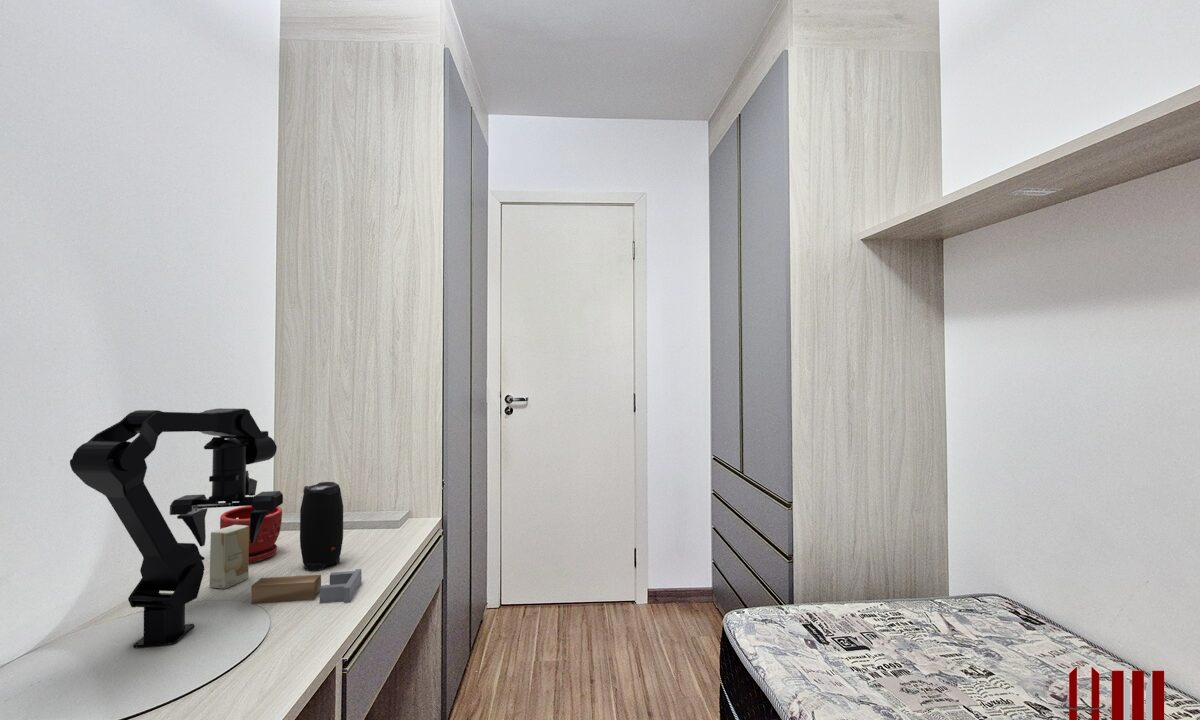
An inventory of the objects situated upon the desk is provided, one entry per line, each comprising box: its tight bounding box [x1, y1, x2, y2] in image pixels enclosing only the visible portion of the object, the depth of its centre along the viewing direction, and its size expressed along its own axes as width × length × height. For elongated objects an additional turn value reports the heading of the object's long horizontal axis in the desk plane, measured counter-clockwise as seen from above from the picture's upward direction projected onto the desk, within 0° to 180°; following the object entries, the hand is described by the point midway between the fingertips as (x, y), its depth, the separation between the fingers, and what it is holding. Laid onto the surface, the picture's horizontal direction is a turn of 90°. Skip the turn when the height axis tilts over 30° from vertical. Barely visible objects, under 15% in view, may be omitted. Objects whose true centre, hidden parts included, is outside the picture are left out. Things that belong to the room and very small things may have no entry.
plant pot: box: [219, 506, 283, 564], centre depth 133 cm, size 13×13×12 cm
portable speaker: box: [299, 481, 344, 572], centre depth 128 cm, size 9×9×20 cm
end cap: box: [319, 568, 363, 604], centre depth 112 cm, size 10×6×3 cm, turn 12°
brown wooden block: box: [250, 574, 322, 605], centre depth 110 cm, size 4×12×4 cm, turn 98°
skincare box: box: [209, 525, 250, 590], centre depth 118 cm, size 6×4×12 cm
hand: (227, 544), depth 108 cm, fingers open, 9 cm apart
